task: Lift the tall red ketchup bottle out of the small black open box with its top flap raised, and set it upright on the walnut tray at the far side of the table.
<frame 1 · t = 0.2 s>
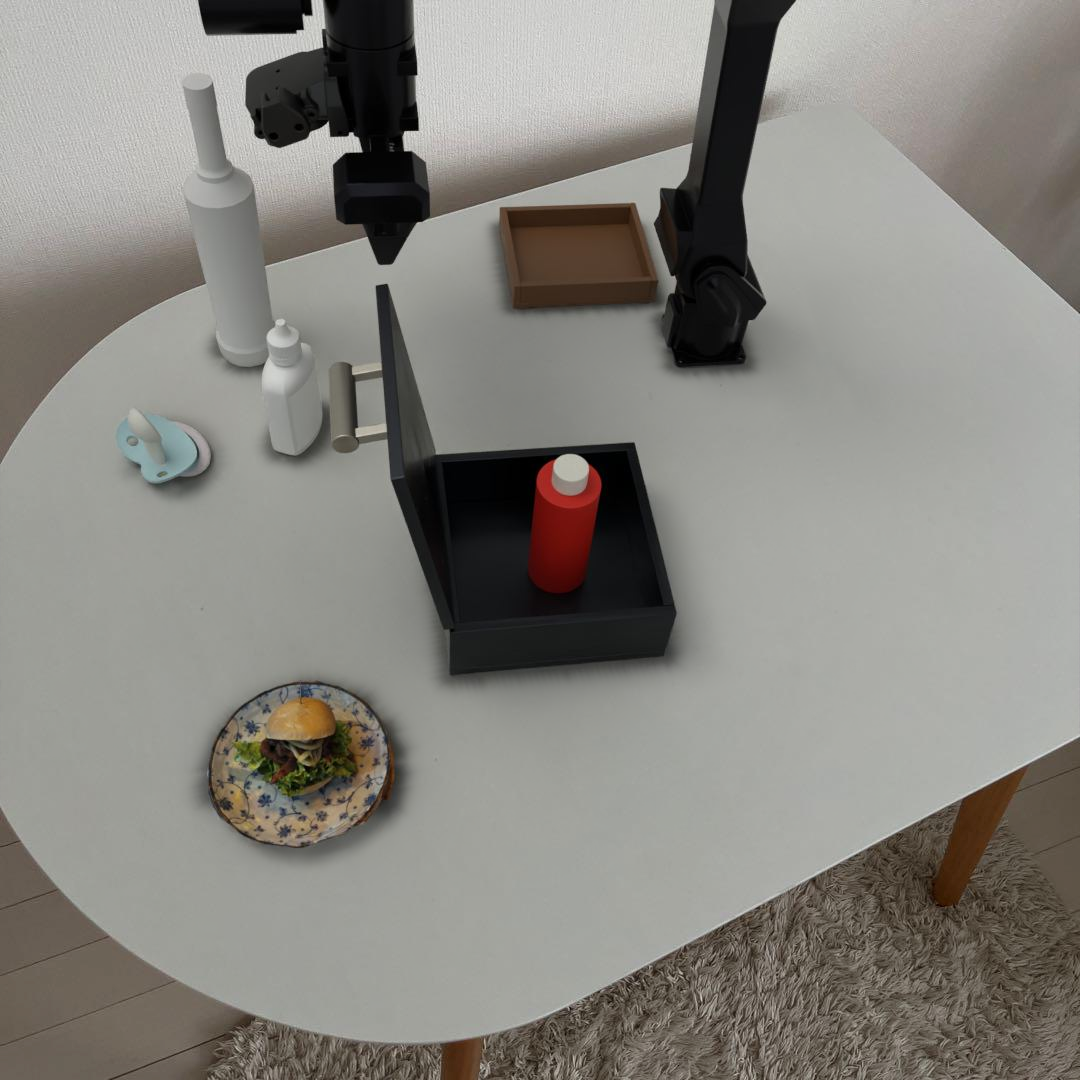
hand: (382, 223, 85), 15 cm above the table, tool pointing down, fingers open, 9 cm apart
black open box: (543, 576, 84), on the table
burger: (304, 772, 74), on the table
eye dropper bottle: (298, 433, 91), on the table
bottle: (250, 349, 96), on the table
ketchup: (556, 569, 84), point 1 cm above the table, touching black open box
pacifier: (171, 459, 89), on the table
tray: (574, 264, 105), on the table
oven door: (389, 467, 71), point 14 cm above the table, hinge at 100.0°
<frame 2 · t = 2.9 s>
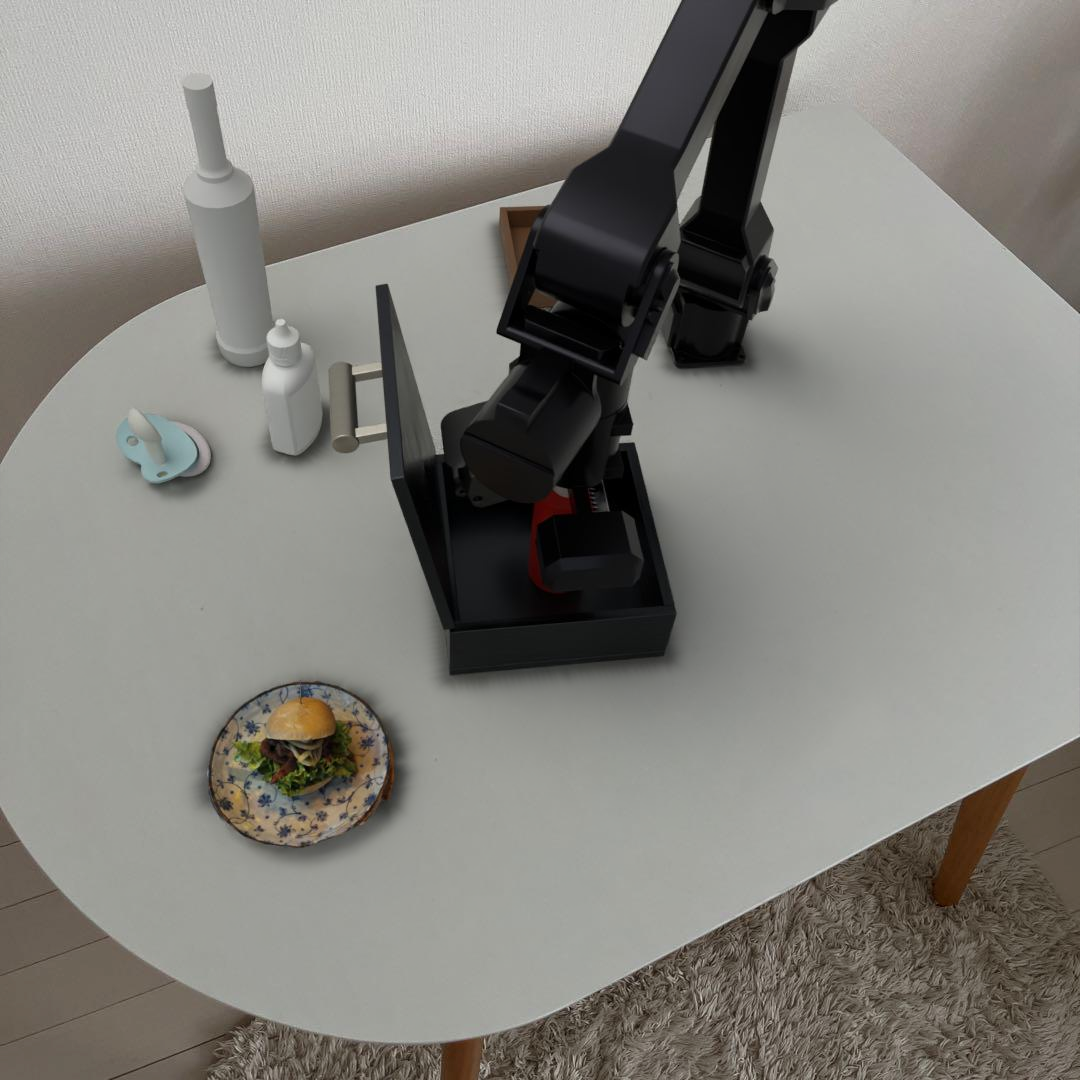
hand: (559, 539, 80), 5 cm above the table, tool pointing down
ketchup: (556, 568, 84), point 1 cm above the table, touching gripper, black open box
everything else where it was.
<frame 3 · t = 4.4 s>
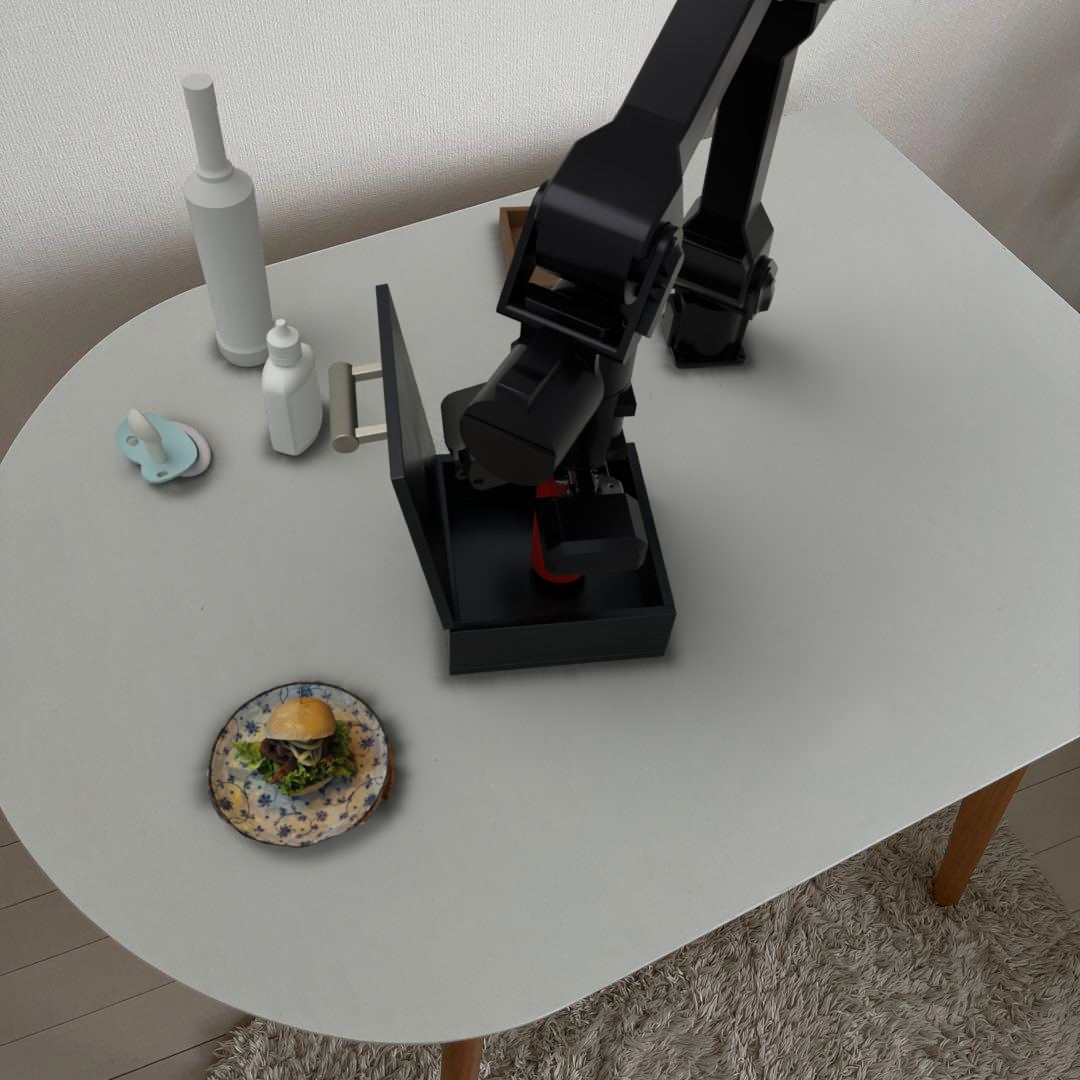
hand: (562, 522, 79), 7 cm above the table, tool pointing down, fingers closed on ketchup, 4 cm apart
ketchup: (559, 558, 83), point 2 cm above the table, touching gripper
everything else where it was.
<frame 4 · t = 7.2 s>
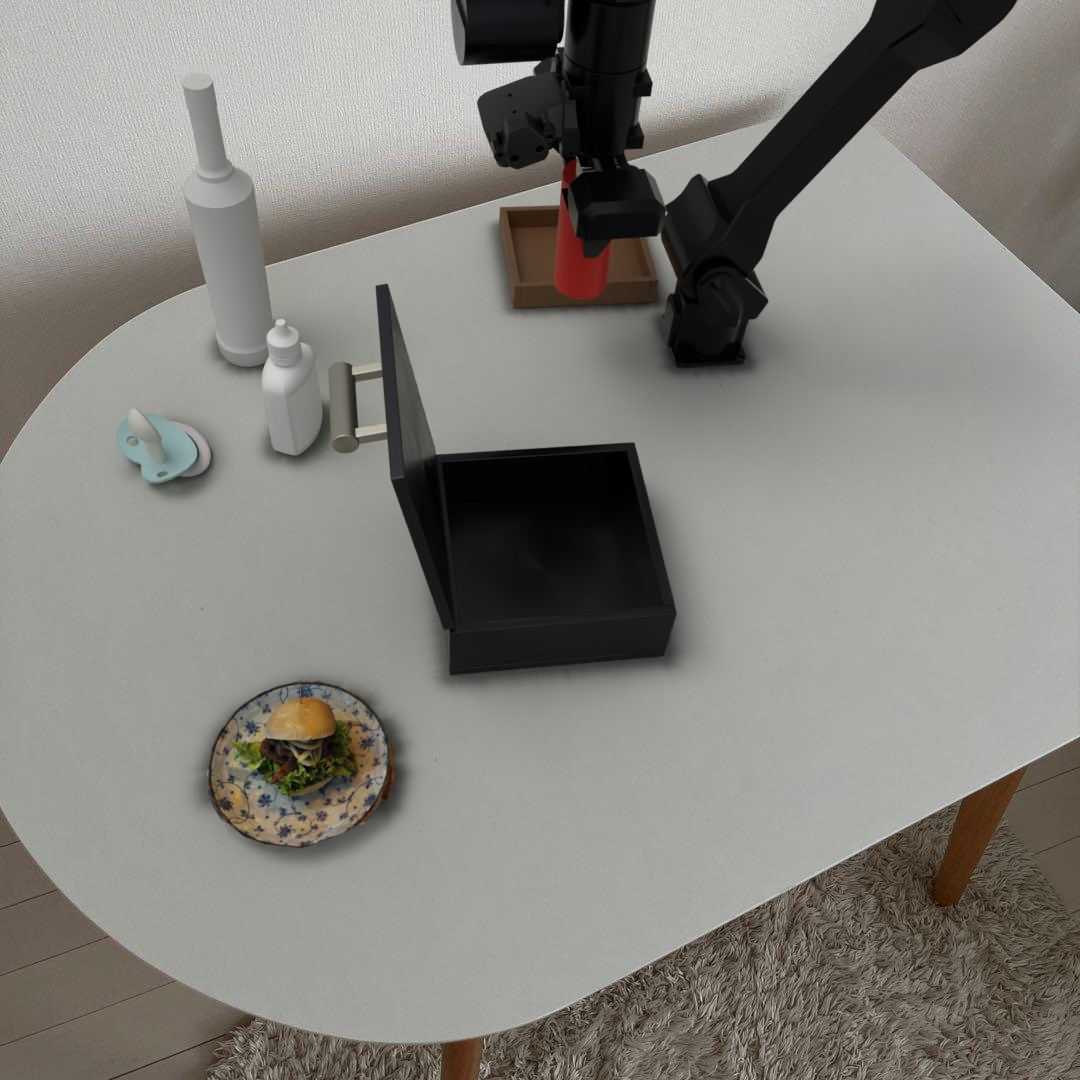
hand: (584, 237, 88), 13 cm above the table, tool pointing down, fingers closed on ketchup, 4 cm apart
ketchup: (580, 281, 92), point 8 cm above the table, touching gripper
everything else where it was.
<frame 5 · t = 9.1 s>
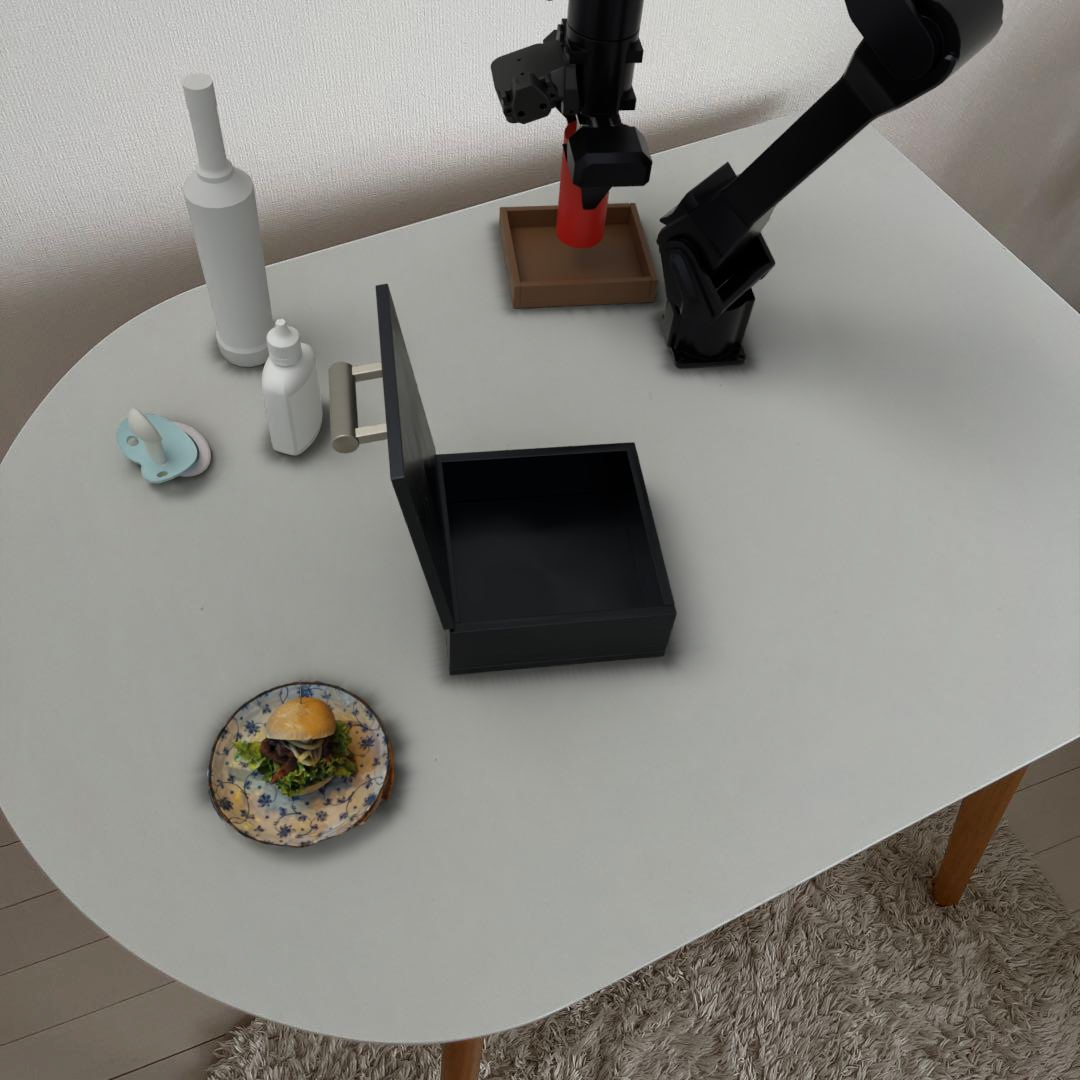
hand: (584, 191, 99), 8 cm above the table, tool pointing down, fingers closed on ketchup, 4 cm apart
ketchup: (579, 232, 102), point 4 cm above the table, touching gripper
everything else where it was.
when the fingers open (5 cm above the table, at t = 10.2 s): ketchup stays where it is, resting on tray.
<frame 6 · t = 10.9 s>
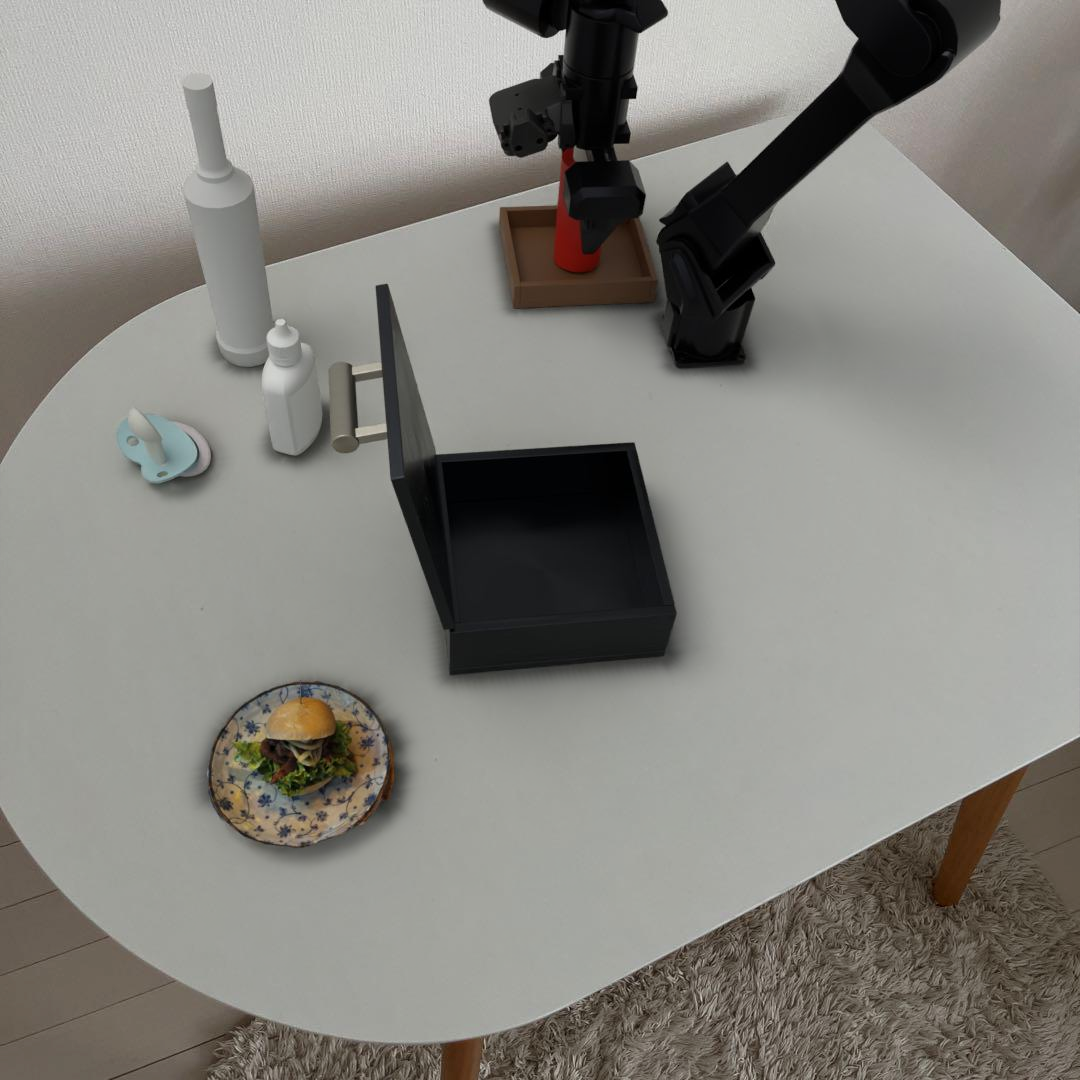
hand: (579, 219, 101), 5 cm above the table, tool pointing down, fingers open, 9 cm apart
ketchup: (576, 258, 105), point 1 cm above the table, touching tray
everything else where it was.
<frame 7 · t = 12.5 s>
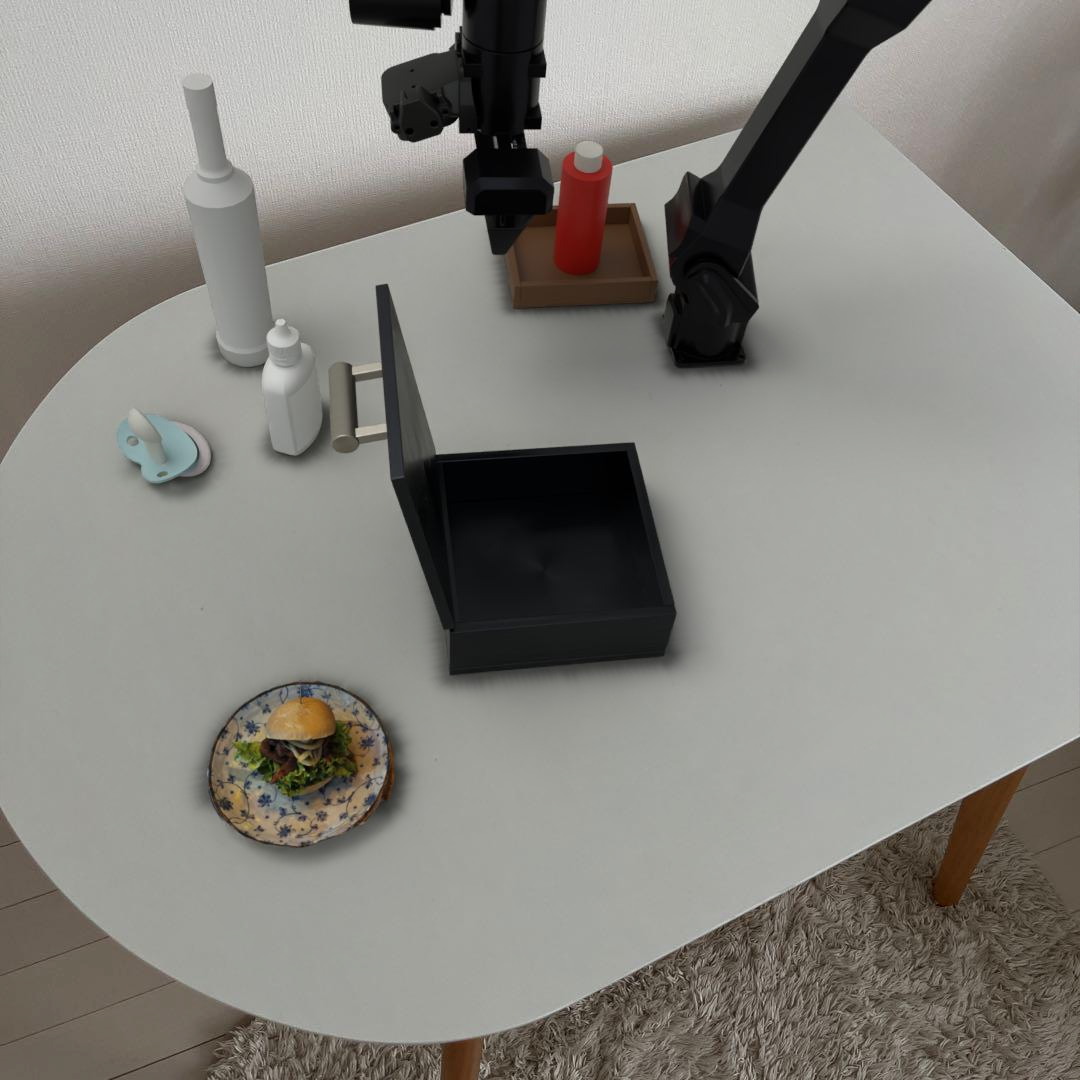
hand: (493, 216, 90), 12 cm above the table, tool pointing down, fingers open, 9 cm apart
nothing on the table moved.
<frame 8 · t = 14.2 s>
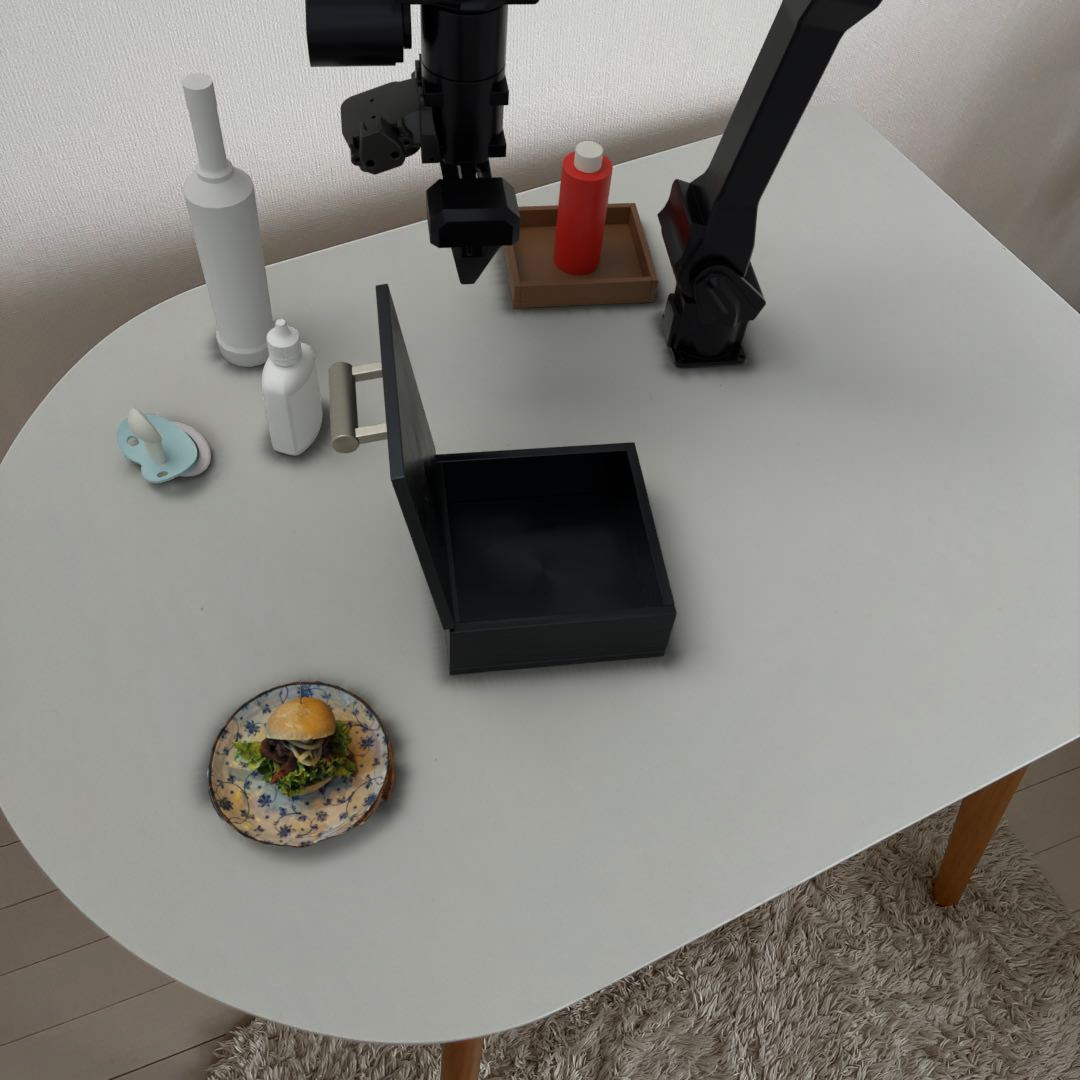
hand: (461, 243, 88), 12 cm above the table, tool pointing down, fingers open, 9 cm apart
nothing on the table moved.
at the end: ketchup inside the target area in the tray (0.1 cm from its centre), point 0.6 cm above the tray's base; ketchup tilted 0°; oven door at +100° (first picture: +100°) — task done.
